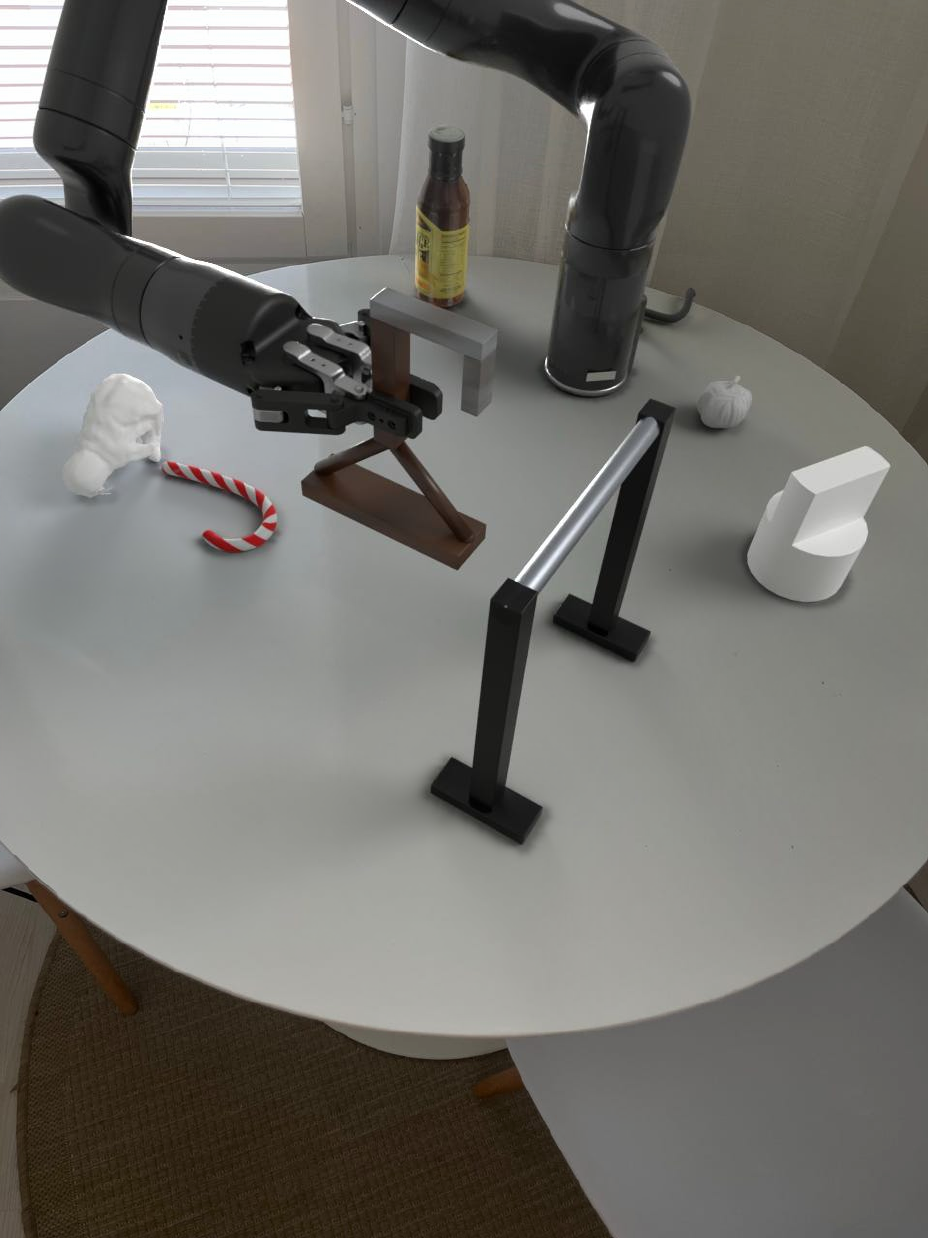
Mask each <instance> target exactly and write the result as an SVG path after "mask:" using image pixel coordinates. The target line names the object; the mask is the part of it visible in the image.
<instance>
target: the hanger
mask: <svg viewBox="0 0 928 1238" xmlns="http://www.w3.org/2000/svg"><path fill="white" fill-rule="evenodd" d="M369 309H370V331H371V364H372V370H371V374H372V390H374V389H377V390H380V391H382V392H384V393H387V394H389V395H391V396H394V397H397V398H399V399H401V400H404V401H406V402H408V403H410V374H411V334H412V335H413V336H416V337H420V338H422V339H424V340H427V341H429V342H432V343H435V344H437V345H439V346H441V347H443V348H447V349H449V350H451V351H454V352H456V353H459V354H462V355H463V365H462V367H463V368H462V379H461V380H462V383H461V397H460V398H461V399H460V400H461V401H460V411H462V412H464V413H466V414H469V415H471V416H473V417H476V418H477V417H478V416H480V414H481V413H482V412H484V411H485V409H486V408H488V407H489V405H490V404H491V403H492V399H493V398H492V397H493V387H494V376H495V367H496V365H495V364H496V355H497V343H498V331H499V330H498V329H497V328H494V327H491V326H488V325H486V324H484V323H482V322H479V321H476V320H473V319H470V318H468V317H465V316H463V315H460V314H458V313H455V312H452V311H450V310H448V309H445V308H443V307H441V308H440V307H437V306H435V305H432V304H429V303H427V302H424V301H422V300H420V299H419V298H416V297H414V296H411V295H409V294H407V293H403V292H401V291H399V290H396V289H393V288H391V287H388V286H386V287H384V288H383V289H381V290H380V291H379V292H378V293H376V294H375V295H374V296H373V297H371V298H370V299H369ZM372 426H373V425H372ZM372 431H373V436H372V437H370V438H368V439H365V440H363V441H361V442H358V443H356V444H354V445H352V446H350V447H348V448H346V449H344V450H341V451H339V452H337V453H334V452H332V453H330V454H329V455H328V456H327V457H326V458H324V459H321V460H319V461H317V462H315V464H314V466H313V470H311V472H309V473H308V474H307V475H305V477H304V478H302V480H300V485H301V494H302V496H303V497H305V498H307V499H309V500H311V501H313V502H315V503H317V504H318V505H322V506H323V507H325V508H327V509H329V510H332V511H333V512H335V513H337V514H339V515H341V516H344V517H345V518H348V519H350V520H352V521H354V522H356V523H358V524H360V525H362V526H364V527H367V528H369V529H371V530H372V531H375V532H376V533H379V534H381V535H383V536H385V537H387V538H389V539H391V540H393V541H395V542H397V543H399V544H402V545H403V546H406V547H408V548H410V549H411V550H414V551H416V552H418V553H420V554H421V555H424V556H426V557H428V558H431V559H433V560H435V561H436V562H438V563H441V564H443V565H445V566H447V567H449V568H450V569H453V570H455V571H459V570H460V568H461V567H462V566H463V565H464V564H465V563H466V562H467V560H469V558H471V555H472V554H473V553H474V552H476V550H477V549H478V547H479V546H481V544H482V543H483V541H484V540H485V539H486V536H487V535H486V534H487V524H486V523H484V522H483V521H481V520H479V519H476V518H474V517H472V516H469V515H467V514H465V513H464V512H461V511H459V510H457V508H456V506H454V504H453V503H452V502H451V500H450V499H449V498H448V497H447V495H446V494H445V492H444V491H443V490H442V488H441V487H440V486H439V484H438V483H437V482H436V481H435V479H434V478H433V476H432V475H431V474H430V472H429V471H428V469H426V467H425V466H424V464H423V463H422V462H421V461H420V459H419V457H417V456H416V454H415V453H414V452H413V450H412V449H411V447H410V446H409V445H408V443H407V442H406V440H407V439H409V438H408V437H400V436H395V435H393V434H391V433H390V432H386V431H385V430H382V429H380V428H377V427H375V426H373V430H372ZM386 451H390V453H391V454H392V455H393V456H394V458H395V459H396V460H397V462H398V463H399V464H400V466H401V467H402V468H403V470H404V471H405V472H406V473H407V475H408V476H409V478H410V479H411V480H412V481H413V482H414V484H415V485H416V486H417V488H418V489H419V490H420V491H421V493H420V492H418V491H415V490H414V489H412V488H409V487H407V486H404V485H403V484H400V483H398V482H396V481H394V480H391V479H389V478H388V477H385V476H383V475H381V474H378V473H377V472H374V471H372V470H370V469H367V468H366V467H363V466H361V465H359V464H358V463H359V462H362V461H365V460H367V459H369V458H372V457H374V456H376V455H379V454H381V453H383V452H386Z"/></svg>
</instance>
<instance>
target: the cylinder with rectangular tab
mask: <svg viewBox="0 0 928 1238" xmlns="http://www.w3.org/2000/svg"><path fill="white" fill-rule="evenodd" d="M890 469H891V465H890V463H889V462H888V461H887V460H886V459H885V457H883V456H882V455H881V454H880V453H879V452H877V451H875V450H874V449H873V448H871V447H870V446H867V445H864V446H861V447H858V448H855V449H853V450H850V451H847V452H844V453H841V454H839V455H835V456H833V457H830V458H827V459H825V460H821V461H819V462H816V463H813V464H810V465H808V466H805V467H802V468H798V469H796V470H794V471H791V473H790V475H789V477H788V479H787V482H786V484H785V487H784V489H782V490H780V491H778V492H776V493H775V494H774V495H773V496H772V497H771V498H770V499H769V500H768V503H767V505H766V507H765V509H764V512H763V515H762V517H761V519H760V522H759V524H758V527H757V529H756V532H755V534H754V537H752V541H751V544H750V546H749V548H748V551H747V553H746V557H747V558H746V560H747V565H748V568H749V571H750V573H751V574H752V575H753V577H754V578H755V580H756V581H757V582H758V583H759V584H760V585H761V586H763V587H764V588H765V589H766V590H768V591H769V592H771V593H773V594H775V595H777V596H778V597H782V598H785V599H787V600H791V601H795V602H802V603H814V602H815V603H816V602H821V601H824V600H828V599H829V598H831V597H832V596H834V595H835V594H837V592H838V591H839V590H840V588H841V587H842V586H843V583H844V582H845V580H846V579H847V577H848V574H849V573H850V572H851V569H852V568H853V566H854V564H855V562H856V560H857V558H858V557H859V555H860V553H861V551H862V549H863V548H864V546H865V544H866V542H867V539H868V535H869V530H868V524H867V522H866V519H865V518H864V517H865V516H866V513H867V511H868V510H869V508H870V507H871V504H872V502H873V501H874V498H875V497H876V495H877V493H878V491H879V489H880V487H881V485H882V484H883V481H884V480H885V478H886V475H888V472H889V470H890Z"/></svg>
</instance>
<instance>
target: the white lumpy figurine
mask: <svg viewBox="0 0 928 1238" xmlns="http://www.w3.org/2000/svg"><path fill="white" fill-rule="evenodd" d="M89 397H90V398H89V401H88V404H87V406H86V411H85V412H84V414H83V417H82V423H81V427H80V429H79V431H78V432H77V437H76V439H77V451H75V452H74V453H73V454H72V456H71V457H70V458H69V459H68V460H67V462H66V463H65V465H64V467H63V469H62V479H63V482H64V483H65V485H66V488H67V489H68V490H69V491H71V492H72V493H73V494H75V495H78V496H83V497H86V498H88V499H92V498H93V497H95V496H96V497H97V496H103V495H112V494H113V493H112V492H109V491H111V490H112V489H113V488H114V487H112V486H110V487H108V488H107V487H105V483H106V481H107V479H108V478H109V477H110V476H112V474H113V472H114V471H116V470H117V469H121V468H124V467H125V466H127V464H129V463H133V462H138V461H140V460H143V459H145V458H148V459H149V460H151V461H152V462H154V463H159V462H160V460H161V458H162V452H161V442H162V432H163V431H162V427H163V425H164V423H165V421H164V418H165V417H164V404H163V403H161V402H160V400H158V399H157V397H156V394H155V393H154V391H153V390H152V388H151V387H150V386H149V385H148V384H146V382H144V381H143V380H140V379H139V378H137V377H133V376H132V375H129V374H128V373H127V374H126V373H112V374H110V375H109V376H108V377H106V378H104V379H102V380H101V382H100V383H99V384H98V385H97V387H96V388H95V389H94V390H92V392H91V394H90V396H89ZM138 438H140V440H141V442H142V443H139V442H137V439H138Z"/></svg>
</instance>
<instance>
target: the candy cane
mask: <svg viewBox="0 0 928 1238" xmlns="http://www.w3.org/2000/svg"><path fill="white" fill-rule="evenodd" d="M161 472H162V473H163V474H165V475H169V476H173V477H178V478H182V479H186V480H191V481H195V482H198V483H202V484H205V485H208V486H213V487H216V488H217V489H218V488H219V489H222V490H224V491H227V492H230V493H233V494H236V495H238V496H240V497H243V498H244V499H247V500H248V501H249V502H251V503H252V504H254V505H255V506H257V507H258V509H259V510H260V511H261V513H262V522H261V524H260V526H259V528H258V529H256V530H255V531H254V532H253V533H251V534H250V535H247V536H243V537H239V538H224V537H221V536H219V535H218V534H216V533H215V532H214V531H213V530H212V529H206V530H204V531H203V533H202V536H201V537H202V539H203V540H204V541H205V542H206V543H207V544H208V545H209V546H211V547H212V548H214V549H216V550H218V551H222V552H225V553H226V552H228V553H240V552H247V551H251V550H254V549H257V548H258V547H260V546H261V545H264V544H265V542H266V541H268V540H269V539H270V538H271V536H272V535H273V533H274V532H275V530H276V527H277V522H278V516H277V515H278V513H277V510H276V508H275V505H273V502H272V501H271V500H270V499H269V497H268V496H267V495H265V494H264V493H262V492H261V491H260V490H259V489H257V488H255V487H253V486H252V485H250V484H248V483H246V482H243V481H241V480H238V479H235V478H233V477H230V476H226V475H223V474H220V473H217V472H214V471H212V470H211V471H210V470H207V469H203V468H200V467H197V466H192V465H188V464H183V463H180V462H174V461H168V460H166V461H163V462H162V464H161Z"/></svg>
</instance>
